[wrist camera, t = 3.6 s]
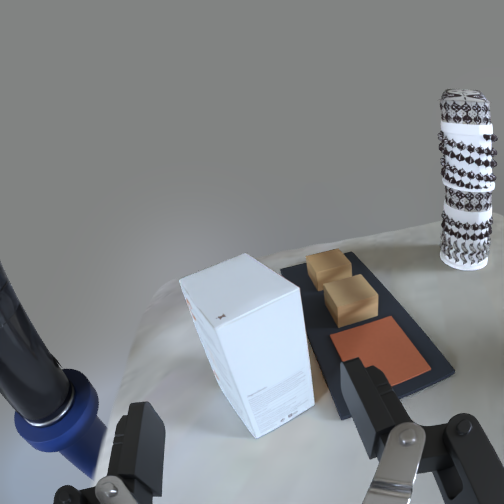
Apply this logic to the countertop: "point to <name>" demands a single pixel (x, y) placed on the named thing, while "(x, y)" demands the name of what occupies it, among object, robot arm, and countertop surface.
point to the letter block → (328, 267)
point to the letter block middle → (350, 300)
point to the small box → (253, 339)
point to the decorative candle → (466, 178)
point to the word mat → (368, 339)
